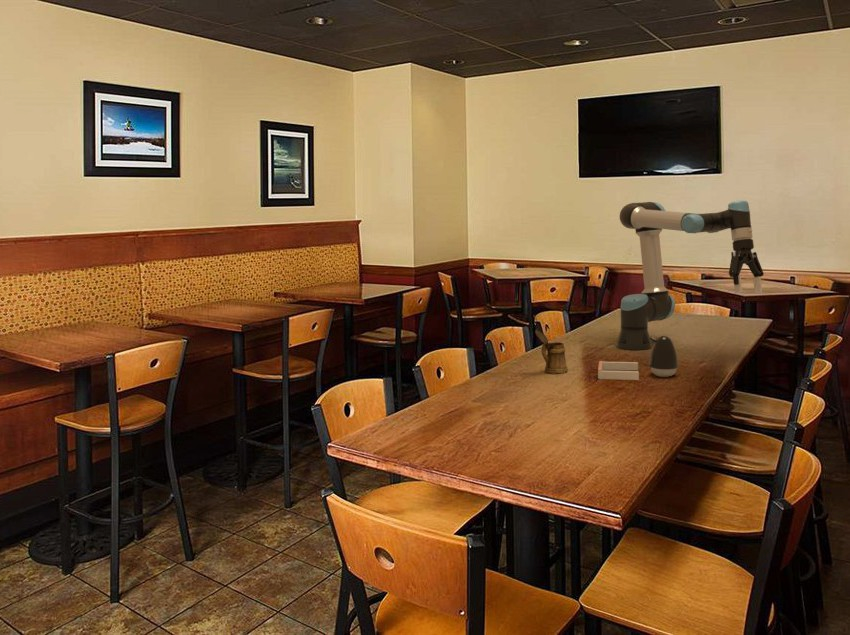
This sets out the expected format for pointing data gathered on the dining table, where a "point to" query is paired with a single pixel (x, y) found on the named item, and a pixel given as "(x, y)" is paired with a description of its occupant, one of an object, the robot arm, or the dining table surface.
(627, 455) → the dining table surface
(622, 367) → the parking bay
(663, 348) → the black tall rounded piece
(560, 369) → the wooden mug
